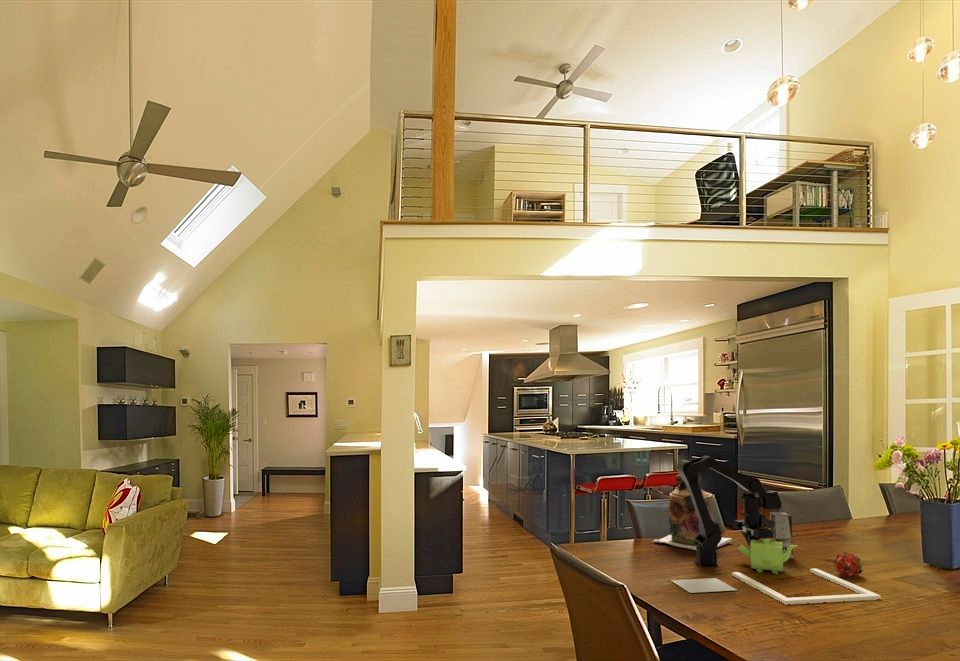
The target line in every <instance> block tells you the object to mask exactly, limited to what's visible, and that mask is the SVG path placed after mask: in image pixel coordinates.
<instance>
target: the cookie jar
mask: <svg viewBox="0 0 960 661" xmlns="http://www.w3.org/2000/svg"><path fill="white" fill-rule="evenodd" d="M698 474H699V485H700V483H701V480H702V478H701V476H700V474H701V473H700V472H698ZM675 482H676V483H677V484H678V485H679V486H678V488H677V489H676V488H675V489H674V490H673V491H672V492H670V493H669V497H668V498H669V502H668V513H669V518H668V519H669V520H668V522H669V523H668V524H669V525H670V526H669V534H668V535H666V536H664V537H662V538H659V539H653V540H652V541H653V543H659V544H667V545H670V546H672V547H673V546H674V547H678V548H682V549H687V550H693V551H696V547H698V545H696V544H695V541H694V539H695V538H696V537H697V536H698V535H699V534H700V531H699V519H698V516H697V513H696V510H695V507H694V504H693V502H692V499H691V496H690V493H689V490H688V487H687V485H686V483H685V482H684V481H683V479H682V478H681V476H680V474H679V473H678V474H677V475H676V477H675ZM700 489H701V492H702V494H703V497H704V500H705V503H706V506H707V509H708V511H709V514H710V517H711V519H712V520H713V521H715V518H714V516H715V515H714V512H713V511H714V510H713V507H712V505H713V504H712V500H713V498H714V497H713V496H714V495H713V493H711V492H707V491H705V490H703V489H702V488H701V487H700ZM731 541H732V538H731V537H722V539H721V541H720V542H719V543H718V546H717V548H718V547H721V546H724V545H727V544H731Z"/></svg>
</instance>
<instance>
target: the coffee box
mask: <svg viewBox="0 0 960 661" xmlns="http://www.w3.org/2000/svg"><path fill="white" fill-rule="evenodd" d="M792 517H793V516H792V515H791V514H789V513H787V512H786V511H769V520H772V521H775V522H776V523H775V526H774V530H772V529H771V528H769V529H771V530H772V531H773V532H774V538H770V541H776V542H782V548H783V554H785V553H786V551H787V549H788V547H789V546H790V545H794V543H793V518H792ZM793 558H794V548H793V549H792V550H791V553H790V557H789V559H793Z"/></svg>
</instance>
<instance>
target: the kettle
mask: <svg viewBox="0 0 960 661" xmlns="http://www.w3.org/2000/svg"><path fill="white" fill-rule="evenodd" d="M798 546H799V545H796V544H793V545H790V546H789V547H788V549H787V551H786V553H785V554H783V548H782V542H776V541H771V538H762V539H759V540H752V539H751V544H750V547H749V549H750V550H749V549H748V548H746V546H744V545H742V544H740V545H739V547H738V550H739V551H740V552H742V553H743V554H744V555H745V556H747V557H748V558H749V559H750V569H756V570H755V572H756V571H758V572H757V573H763V571H764V570H765V571H767V570H768V571H771V573H772V574H773V573H775V574H774V575H779V574H778V573H779V572H784V563H786V562H787V561H788V560H789V559H790V558H789V557H790V553H791V550H792V549H793V550H794V548H795V547H798Z"/></svg>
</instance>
